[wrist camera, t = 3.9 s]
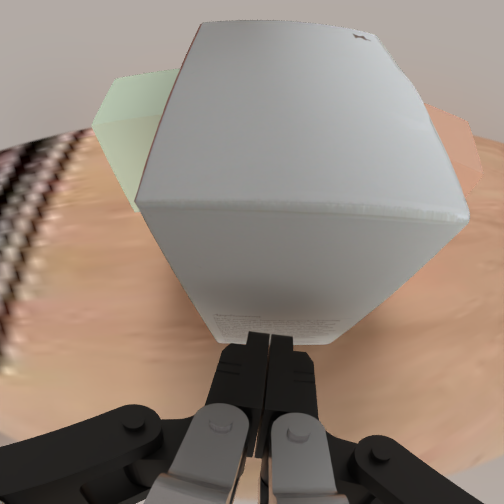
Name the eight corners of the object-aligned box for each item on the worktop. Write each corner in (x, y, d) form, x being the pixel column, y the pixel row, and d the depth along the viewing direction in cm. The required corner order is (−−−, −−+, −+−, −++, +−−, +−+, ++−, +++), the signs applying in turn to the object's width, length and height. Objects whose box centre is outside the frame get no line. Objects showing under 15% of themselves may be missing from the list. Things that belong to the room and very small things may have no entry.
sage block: (134, 212, 20) (91, 125, 13) (145, 163, 22) (115, 78, 15) (198, 208, 20) (175, 113, 13) (202, 159, 22) (187, 67, 15)
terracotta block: (362, 230, 20) (408, 143, 12) (367, 180, 21) (402, 95, 14) (421, 248, 19) (483, 174, 12) (420, 197, 21) (467, 121, 14)
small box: (223, 218, 20) (199, 18, 8) (322, 221, 20) (380, 31, 8) (214, 346, 16) (124, 203, 5) (330, 347, 16) (484, 219, 5)
